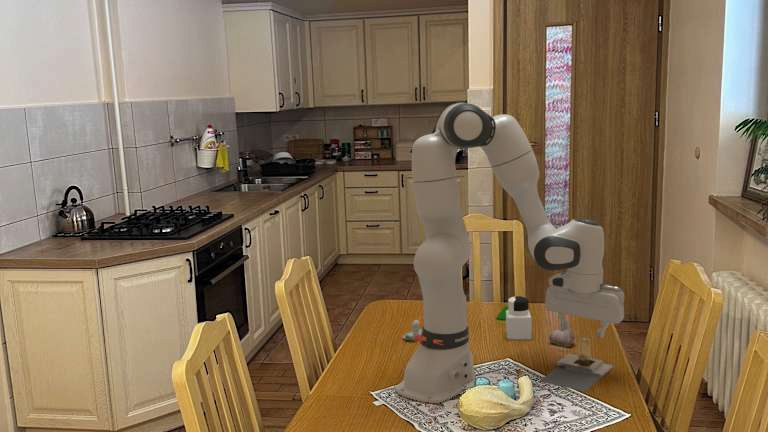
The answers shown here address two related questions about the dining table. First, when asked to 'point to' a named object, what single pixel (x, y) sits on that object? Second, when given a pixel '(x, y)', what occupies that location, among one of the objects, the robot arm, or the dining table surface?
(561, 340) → the garlic bulb
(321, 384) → the dining table surface
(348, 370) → the dining table surface
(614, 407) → the dining table surface
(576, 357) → the frame
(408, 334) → the pacifier
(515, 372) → the dining table surface
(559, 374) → the mat
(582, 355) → the brass pin
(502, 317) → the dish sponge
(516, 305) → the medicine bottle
